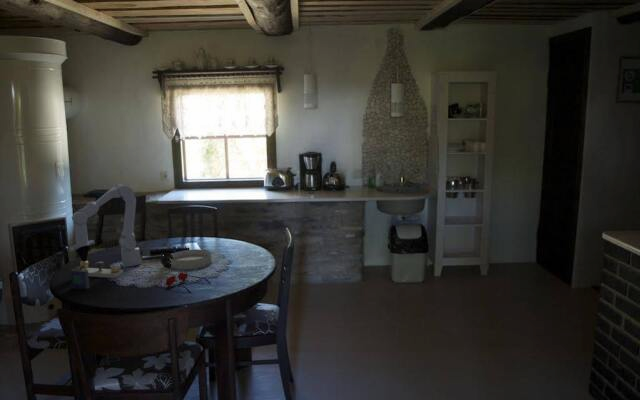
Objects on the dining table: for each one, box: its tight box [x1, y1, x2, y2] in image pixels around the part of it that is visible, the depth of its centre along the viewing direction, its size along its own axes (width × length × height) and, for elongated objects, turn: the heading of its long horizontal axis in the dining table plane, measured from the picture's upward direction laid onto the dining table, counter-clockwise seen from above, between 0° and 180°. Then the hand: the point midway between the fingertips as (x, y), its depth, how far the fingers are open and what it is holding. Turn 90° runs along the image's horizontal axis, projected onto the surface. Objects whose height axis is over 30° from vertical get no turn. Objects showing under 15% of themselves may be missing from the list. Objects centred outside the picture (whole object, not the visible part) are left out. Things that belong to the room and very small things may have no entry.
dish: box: [169, 248, 212, 270], centre depth 275 cm, size 22×22×5 cm
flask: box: [70, 265, 90, 291], centre depth 238 cm, size 9×3×11 cm, turn 74°
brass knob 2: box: [110, 265, 121, 273], centre depth 256 cm, size 4×4×4 cm
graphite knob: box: [94, 260, 105, 270], centre depth 258 cm, size 4×4×4 cm
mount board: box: [82, 267, 124, 279], centre depth 259 cm, size 22×7×2 cm, turn 76°
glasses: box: [164, 271, 212, 294], centre depth 239 cm, size 14×16×5 cm
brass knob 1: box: [79, 260, 90, 269], centre depth 260 cm, size 4×4×4 cm
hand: (84, 260), depth 260 cm, fingers closed
